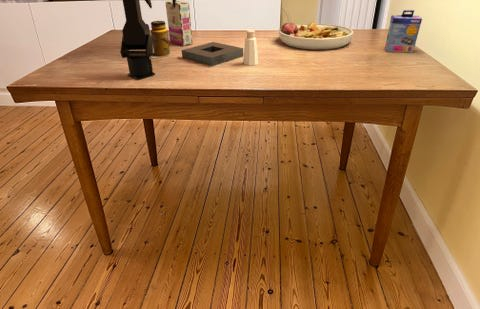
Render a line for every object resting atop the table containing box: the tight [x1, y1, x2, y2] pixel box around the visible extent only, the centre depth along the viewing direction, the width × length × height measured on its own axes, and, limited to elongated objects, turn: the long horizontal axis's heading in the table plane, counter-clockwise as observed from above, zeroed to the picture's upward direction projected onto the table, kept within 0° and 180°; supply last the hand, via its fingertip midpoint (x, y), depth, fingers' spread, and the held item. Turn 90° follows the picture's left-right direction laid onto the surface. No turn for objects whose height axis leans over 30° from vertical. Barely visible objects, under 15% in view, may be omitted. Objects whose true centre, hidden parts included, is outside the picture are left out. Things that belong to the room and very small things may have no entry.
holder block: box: [181, 41, 244, 67], centre depth 123 cm, size 16×16×3 cm
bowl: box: [278, 22, 354, 51], centre depth 139 cm, size 30×30×8 cm
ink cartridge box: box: [384, 9, 423, 53], centre depth 123 cm, size 10×6×14 cm, turn 78°
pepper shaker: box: [242, 29, 259, 66], centre depth 114 cm, size 5×5×11 cm
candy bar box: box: [164, 0, 193, 47], centre depth 140 cm, size 11×5×16 cm, turn 41°
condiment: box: [150, 20, 174, 59], centre depth 126 cm, size 7×8×12 cm
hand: (162, 7), depth 129 cm, fingers open, 9 cm apart
